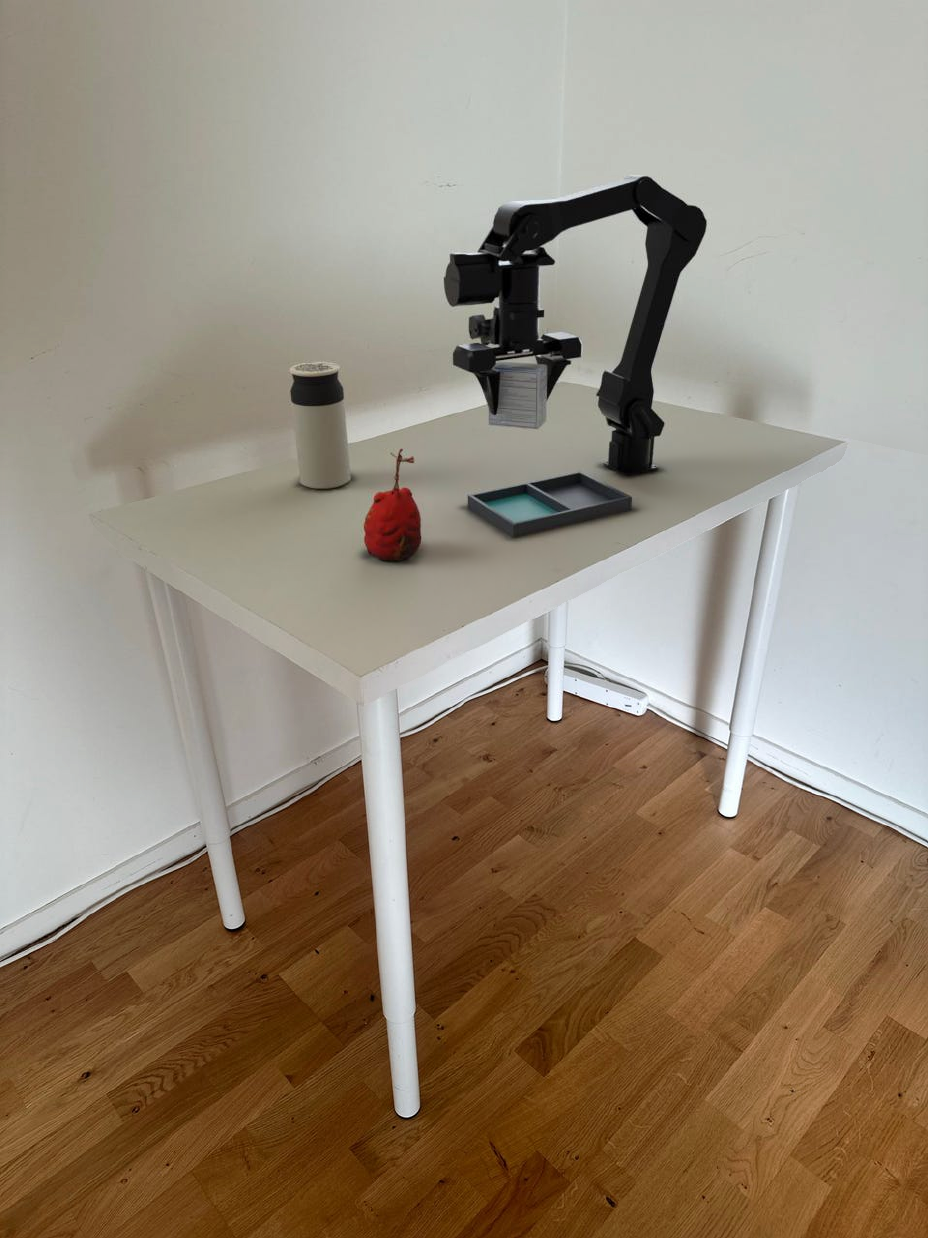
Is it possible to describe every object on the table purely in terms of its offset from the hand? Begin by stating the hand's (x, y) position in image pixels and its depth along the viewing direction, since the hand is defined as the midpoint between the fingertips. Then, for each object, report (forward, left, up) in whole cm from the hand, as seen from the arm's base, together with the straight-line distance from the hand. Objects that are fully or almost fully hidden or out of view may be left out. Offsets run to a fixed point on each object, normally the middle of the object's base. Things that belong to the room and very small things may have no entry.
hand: (517, 410), depth 135 cm
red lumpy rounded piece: (+27, +13, -12) cm, 32 cm away
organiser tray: (+1, +10, -12) cm, 16 cm away
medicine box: (0, 0, -2) cm, 2 cm away
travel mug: (+25, -18, -12) cm, 33 cm away
